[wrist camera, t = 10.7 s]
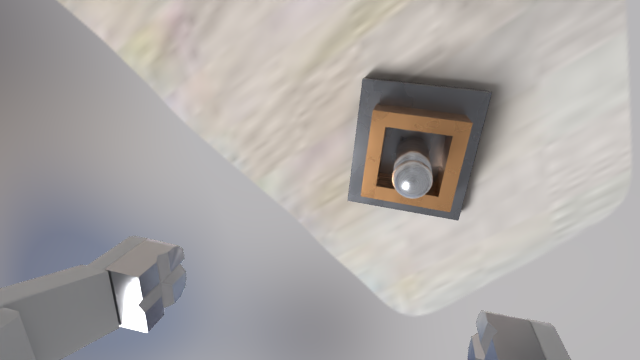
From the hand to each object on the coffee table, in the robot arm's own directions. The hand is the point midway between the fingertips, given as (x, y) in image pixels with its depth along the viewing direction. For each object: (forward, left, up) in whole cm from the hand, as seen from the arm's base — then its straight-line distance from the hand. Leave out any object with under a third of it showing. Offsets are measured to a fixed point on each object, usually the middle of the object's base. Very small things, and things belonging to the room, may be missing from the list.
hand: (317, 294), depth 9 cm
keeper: (+1, +3, -20) cm, 21 cm away
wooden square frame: (+1, +3, -19) cm, 19 cm away
